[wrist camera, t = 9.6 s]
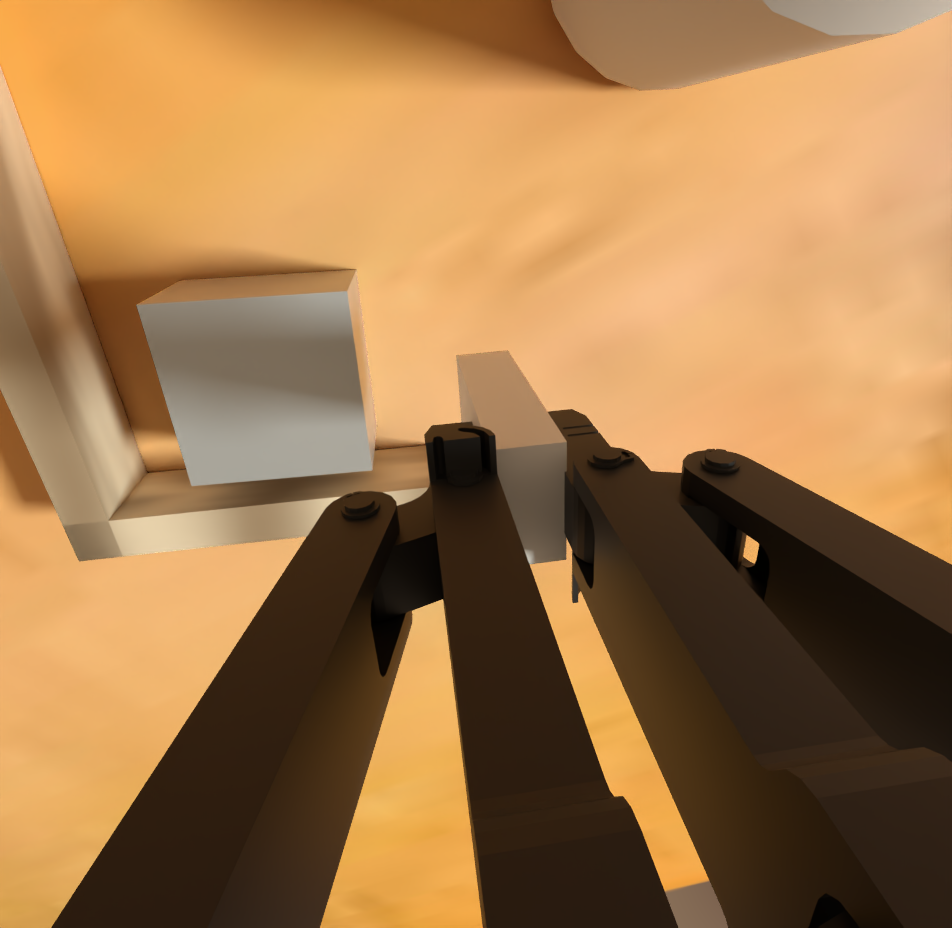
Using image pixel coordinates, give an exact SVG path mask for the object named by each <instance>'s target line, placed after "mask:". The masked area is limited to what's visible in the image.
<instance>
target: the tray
mask: <svg viewBox="0 0 952 928" xmlns="http://www.w3.org/2000/svg"><path fill="white" fill-rule="evenodd" d="M0 390H1V392H2V394H3V396H4V398H5V400H6V403H7V405H8V407H9V409H10V411H11V414H12V416H13V418H14V420H15V422H16V425H17V427H18V429H19V431H20V433H21V435H22V438H23V440H24V442H25V444H26V446H27V449H28V451H29V453H30V455H31V457H32V459H33V462H34V464H35V466H36V468H37V470H38V473H39V475H40V477H41V479H42V481H43V484H44V486H45V488H46V490H47V492H48V494H49V497H50V499H51V501H52V503H53V505H54V508H55V510H56V512H57V514H58V516H59V518H60V521H61V523H62V525H63V527H64V529H65V532H66V534H67V536H68V538H69V540H70V543H71V545H72V547H73V549H74V551H75V553H76V556H77V558H78V560H79V561H86V560H95V559H105V558H114V557H123V556H132V555H141V554H151V553H160V552H169V551H178V550H187V549H197V548H206V547H215V546H224V545H233V544H243V543H252V542H261V541H270V540H279V539H289V538H298V537H307V536H308V534H309V533H310V531H311V530H312V528H313V527H314V525H315V524H316V522H317V521H318V519H319V517H320V516H321V514H322V513H323V511H324V510H325V508H326V507H327V506H329V505H330V504H331V503H332V502H333V501H335V500H337V499H339V498H340V497H342V496H344V495H346V494H349V493H353V492H357V491H362V492H364V491H375V492H383V493H385V494H388V495H390V496H392V497H393V498H394V500H395V501H396V503H397V506H398V505H401V504H404V503H407V502H410V501H412V500H414V499H416V498H418V497H420V496H421V495H422V494H423V493H425V492H426V491H427V489H428V487H429V484H430V481H429V472H428V463H427V454H426V445H423V446H413V447H403V448H393V449H383V450H374V460H373V470H372V471H360V472H349V473H337V474H326V475H314V476H303V477H291V478H280V479H268V480H257V481H246V482H234V483H223V484H211V485H200V486H191V483H190V479H189V476H188V473H187V470H186V469H183V470H173V471H163V472H153V473H147V471H146V468H145V465H144V462H143V460H142V457H141V454H140V451H139V449H138V446H137V443H136V440H135V437H134V435H133V432H132V429H131V426H130V424H129V421H128V418H127V415H126V413H125V410H124V407H123V404H122V401H121V399H120V396H119V393H118V390H117V388H116V385H115V382H114V379H113V377H112V374H111V371H110V368H109V365H108V363H107V360H106V357H105V354H104V352H103V349H102V346H101V343H100V341H99V338H98V335H97V332H96V329H95V327H94V324H93V321H92V318H91V316H90V313H89V310H88V307H87V305H86V302H85V299H84V296H83V293H82V291H81V288H80V285H79V282H78V280H77V277H76V274H75V271H74V269H73V266H72V263H71V260H70V257H69V255H68V252H67V249H66V246H65V244H64V241H63V238H62V235H61V233H60V230H59V227H58V224H57V221H56V219H55V216H54V213H53V210H52V208H51V205H50V202H49V199H48V197H47V194H46V191H45V188H44V185H43V183H42V180H41V177H40V174H39V172H38V169H37V166H36V163H35V161H34V158H33V155H32V152H31V149H30V147H29V144H28V141H27V138H26V136H25V133H24V130H23V127H22V125H21V122H20V119H19V116H18V113H17V111H16V108H15V105H14V102H13V100H12V97H11V94H10V91H9V89H8V86H7V83H6V80H5V77H4V75H3V72H2V69H1V66H0Z"/></svg>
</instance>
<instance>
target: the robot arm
mask: <svg viewBox="0 0 952 928" xmlns="http://www.w3.org/2000/svg"><path fill="white" fill-rule="evenodd" d="M456 357H457V370H458V382H459V395H460V407H461V420H462V423H452V424H443V425H433V426H431V427H430V429H429V430H428V431H427V432H426V433H425V435H424V436H425V445H426V454H427V463H428V472H429V481H430V484H429V487H428V489H427V491H426V492H425V493H423V494H422V495H421V496H420V497H418V498H416V499H414V500H412V501H410V502H407V503H404V504H401V505H398V506H397V503H396V501H395V500H394V498H393V497H392V496H390V495H388V494H385V493H383V492H375V491H364V492H362V491H357V492H353V493H349V494H346V495H344V496H342V497H340V498H339V499H337V500H335V501H333V502H332V503H331V504H330V505H329V506H327V507H326V508H325V510H324V511H323V513H322V514H321V516H320V517H319V519H318V521H317V522H316V524H315V525H314V527H313V528H312V530H311V531H310V533H309V534H308V536H307V537H306V539H305V540H304V542H303V543H302V545H301V547H300V548H299V550H298V551H297V553H296V554H295V556H294V557H293V559H292V560H291V562H290V563H289V565H288V566H287V568H286V569H285V571H284V573H283V574H282V576H281V577H280V579H279V580H278V582H277V583H276V585H275V586H274V588H273V589H272V591H271V592H270V594H269V595H268V597H267V599H266V600H265V602H264V603H263V605H262V606H261V608H260V609H259V611H258V612H257V614H256V615H255V617H254V618H253V620H252V621H251V623H250V625H249V626H248V628H247V629H246V631H245V632H244V634H243V635H242V637H241V638H240V640H239V641H238V643H237V644H236V646H235V647H234V649H233V651H232V652H231V654H230V655H229V657H228V658H227V660H226V661H225V663H224V664H223V666H222V667H221V669H220V670H219V672H218V673H217V675H216V677H215V678H214V680H213V681H212V683H211V684H210V686H209V687H208V689H207V690H206V692H205V693H204V695H203V696H202V698H201V699H200V701H199V703H198V704H197V706H196V707H195V709H194V710H193V712H192V713H191V715H190V716H189V718H188V719H187V721H186V722H185V724H184V725H183V727H182V729H181V730H180V732H179V733H178V735H177V736H176V738H175V739H174V741H173V742H172V744H171V745H170V747H169V748H168V750H167V751H166V753H165V755H164V756H163V758H162V759H161V761H160V762H159V764H158V765H157V767H156V768H155V770H154V771H153V773H152V774H151V776H150V777H149V779H148V781H147V782H146V784H145V785H144V787H143V788H142V790H141V791H140V793H139V794H138V796H137V797H136V799H135V800H134V802H133V803H132V805H131V807H130V808H129V810H128V811H127V813H126V814H125V816H124V817H123V819H122V820H121V822H120V823H119V825H118V826H117V828H116V829H115V831H114V833H113V834H112V836H111V837H110V839H109V840H108V842H107V843H106V845H105V846H104V848H103V849H102V851H101V852H100V854H99V855H98V857H97V859H96V860H95V862H94V863H93V865H92V866H91V868H90V869H89V871H88V872H87V874H86V875H85V877H84V878H83V880H82V881H81V883H80V885H79V886H78V888H77V889H76V891H75V892H74V894H73V895H72V897H71V898H70V900H69V901H68V903H67V904H66V906H65V907H64V909H63V911H62V912H61V914H60V915H59V917H58V918H57V920H56V921H55V923H54V924H53V926H52V927H51V928H320V925H321V922H322V918H323V915H324V912H325V909H326V905H327V902H328V899H329V895H330V892H331V889H332V885H333V882H334V879H335V876H336V872H337V869H338V866H339V862H340V859H341V856H342V852H343V849H344V846H345V843H346V839H347V836H348V833H349V829H350V826H351V823H352V819H353V816H354V813H355V810H356V806H357V803H358V800H359V796H360V793H361V790H362V786H363V783H364V780H365V777H366V773H367V770H368V767H369V763H370V760H371V757H372V753H373V750H374V747H375V744H376V740H377V737H378V734H379V730H380V727H381V724H382V720H383V717H384V714H385V711H386V707H387V704H388V701H389V697H390V694H391V691H392V687H393V684H394V681H395V678H396V674H397V671H398V668H399V664H400V661H401V658H402V654H403V651H404V648H405V645H406V641H407V638H408V635H409V631H410V628H411V625H412V610H415V609H417V608H420V607H423V606H425V605H428V604H431V603H433V602H436V601H439V600H441V599H443V601H444V610H445V618H446V626H447V635H448V643H449V651H450V659H451V668H452V676H453V684H454V692H455V701H456V709H457V717H458V725H459V734H460V742H461V750H462V759H463V767H464V775H465V783H466V792H467V800H468V808H469V816H470V825H471V833H472V841H473V850H474V858H475V866H476V874H477V883H478V891H479V899H480V907H481V916H482V924H483V928H678V925H677V923H676V920H675V918H674V915H673V912H672V910H671V907H670V904H669V902H668V900H667V897H666V894H665V891H664V889H663V886H662V883H661V881H660V878H659V875H658V873H657V870H656V868H655V865H654V862H653V860H652V857H651V854H650V852H649V849H648V847H647V844H646V841H645V839H644V836H643V833H642V831H641V828H640V826H639V824H638V822H637V819H636V817H635V815H634V813H633V810H632V808H631V806H630V805H629V804H628V802H627V801H626V800H625V798H624V797H623V796H618V797H614V796H613V794H612V793H611V792H610V790H609V787H608V785H607V783H606V780H605V778H604V775H603V772H602V769H601V766H600V763H599V761H598V758H597V755H596V752H595V749H594V746H593V744H592V741H591V738H590V735H589V732H588V729H587V726H586V724H585V721H584V718H583V715H582V712H581V709H580V707H579V704H578V701H577V698H576V695H575V692H574V690H573V687H572V684H571V681H570V678H569V675H568V673H567V670H566V667H565V664H564V661H563V658H562V656H561V653H560V650H559V647H558V644H557V641H556V639H555V636H554V633H553V630H552V627H551V624H550V622H549V619H548V616H547V613H546V610H545V607H544V604H543V602H542V599H541V596H540V593H539V590H538V587H537V585H536V582H535V579H534V576H533V573H532V570H531V568H530V565H529V564H535V563H543V562H551V561H559V560H566V537H567V539H568V542H569V544H570V546H571V548H572V602H573V603H577V602H578V594H579V592H580V591H581V592H582V594H583V597H584V599H585V601H586V603H587V606H588V608H589V610H590V612H591V615H592V617H593V619H594V621H595V624H596V626H597V628H598V630H599V633H600V635H601V637H602V639H603V642H604V644H605V646H606V648H607V651H608V653H609V655H610V657H611V660H612V662H613V664H614V667H615V669H616V671H617V673H618V676H619V678H620V680H621V682H622V685H623V687H624V689H625V691H626V694H627V696H628V698H629V700H630V703H631V705H632V707H633V709H634V712H635V714H636V716H637V718H638V721H639V723H640V725H641V727H642V730H643V732H644V734H645V736H646V739H647V741H648V743H649V745H650V748H651V750H652V752H653V754H654V757H655V759H656V761H657V763H658V766H659V768H660V770H661V772H662V775H663V777H664V779H665V781H666V784H667V786H668V788H669V790H670V793H671V795H672V797H673V799H674V802H675V804H676V806H677V808H678V811H679V813H680V815H681V817H682V820H683V822H684V824H685V826H686V829H687V831H688V833H689V835H690V838H691V840H692V842H693V844H694V847H695V849H696V851H697V853H698V856H699V858H700V860H701V862H702V865H703V867H704V869H705V871H706V874H707V876H708V878H709V880H710V883H711V885H712V887H713V889H714V891H715V894H716V896H717V898H718V901H719V903H720V905H721V907H722V910H723V913H724V915H725V918H726V921H727V925H728V928H952V565H951V564H949V563H947V562H945V561H944V560H942V559H940V558H938V557H936V556H934V555H932V554H930V553H928V552H926V551H924V550H923V549H921V548H919V547H917V546H915V545H913V544H911V543H909V542H907V541H905V540H904V539H902V538H900V537H898V536H896V535H894V534H892V533H890V532H888V531H886V530H884V529H883V528H881V527H879V526H877V525H875V524H873V523H871V522H869V521H867V520H865V519H863V518H862V517H860V516H858V515H856V514H854V513H852V512H850V511H848V510H846V509H844V508H842V507H841V506H839V505H837V504H835V503H833V502H831V501H829V500H827V499H825V498H823V497H822V496H820V495H818V494H816V493H814V492H812V491H810V490H808V489H806V488H804V487H802V486H801V485H799V484H797V483H795V482H793V481H791V480H789V479H787V478H785V477H783V476H781V475H780V474H778V473H776V472H774V471H772V470H770V469H768V468H766V467H764V466H762V465H761V464H759V463H757V462H755V461H753V460H751V459H749V458H747V457H745V456H742V455H739V454H737V453H733V452H727V451H726V450H722V449H716V450H715V449H707V450H705V451H697V452H694V453H692V454H689V455H687V456H686V458H685V459H684V460H683V467H682V473H671V472H655V471H650V469H649V468H648V467H647V466H646V465H645V464H644V462H643V461H642V460H641V459H640V458H639V457H638V456H637V455H635V454H634V453H633V452H630V451H628V450H624V449H621V448H614V447H610V446H609V444H608V443H607V442H606V441H605V439H604V438H603V437H602V435H601V434H600V433H598V430H597V429H596V428H595V427H594V426H593V424H592V423H591V422H590V420H589V419H588V418H587V417H586V416H585V415H583V414H581V413H579V412H577V411H575V410H572V409H569V410H560V411H550V412H547V410H546V409H545V407H544V406H543V404H542V403H541V401H540V399H539V398H538V396H537V395H536V393H535V392H534V390H533V389H532V387H531V386H530V384H529V382H528V381H527V379H526V378H525V376H524V375H523V373H522V372H521V370H520V369H519V367H518V365H517V364H516V362H515V361H514V359H513V358H512V356H511V355H510V353H509V351H508V350H507V351H497V352H487V353H476V354H466V355H456ZM746 535H748V536H749V537H751V538H752V539H754V540H755V541H757V542H758V543H759V550H758V555H757V560H756V562H755V564H754V563H751V562H750V561H748V560H747V559H745V558H744V557H743V553H744V547H745V541H746Z"/></svg>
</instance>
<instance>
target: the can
mask: <svg viewBox="0 0 952 928" xmlns="http://www.w3.org/2000/svg"><path fill="white" fill-rule="evenodd" d="M551 3H552V7H553V11H554V15H555V16H556V18H557V20H558V21H559V23H560V25H561V27H562V28H563V30H564V32H565V34H566V35H567V37H568V39H569V41H570V42H571V44H572V46H573V47H574V49H575V51H576V52H577V53H578V54H579V55H580V56H581V57H582V58H583V59H585V60H586V61H587V62H588V63H589V64H590V65H591V66H593V67H594V68H595V69H596V70H597V71H598V72H599V73H601V74H602V75H603V76H604V77H605V78H607V79H610V80H612V81H615V82H618V83H621V84H624V85H626V86H629V87H632V88H635V89H637V90H663V89H678V88H682V87H686V86H690V85H694V84H698V83H702V82H706V81H710V80H714V79H718V78H722V77H726V76H730V75H734V74H738V73H742V72H746V71H750V70H753V69H757V68H761V67H765V66H769V65H773V64H777V63H781V62H785V61H789V60H793V59H797V58H801V57H805V56H809V55H813V54H817V53H821V52H825V51H829V50H833V49H837V48H840V47H844V46H848V45H852V44H856V43H860V42H864V41H868V40H872V39H876V38H880V37H884V36H888V35H892V34H896V33H898V32H901V31H903V30H906V29H908V28H910V27H913V26H915V25H917V24H920V23H922V22H925V21H927V20H929V19H932V18H934V17H937V16H939V15H941V14H944V13H946V12H949V11H951V10H952V0H551Z"/></svg>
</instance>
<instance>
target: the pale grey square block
mask: <svg viewBox="0 0 952 928" xmlns="http://www.w3.org/2000/svg"><path fill="white" fill-rule="evenodd" d="M136 306H137V309H138V312H139V316H140V319H141V322H142V325H143V329H144V332H145V335H146V339H147V342H148V345H149V348H150V352H151V355H152V358H153V361H154V365H155V368H156V371H157V375H158V378H159V381H160V384H161V388H162V391H163V394H164V398H165V401H166V404H167V407H168V411H169V414H170V417H171V420H172V424H173V427H174V430H175V434H176V437H177V440H178V443H179V447H180V450H181V453H182V457H183V460H184V463H185V466H186V470H187V473H188V476H189V479H190V483H191V486H200V485H211V484H223V483H234V482H246V481H257V480H268V479H280V478H291V477H303V476H314V475H326V474H337V473H349V472H360V471H372V470H373V460H374V450H375V441H376V431H377V422H376V414H375V407H374V399H373V391H372V384H371V376H370V368H369V361H368V353H367V346H366V338H365V330H364V323H363V315H362V307H361V300H360V292H359V285H358V277H357V269H354V270H338V271H322V272H306V273H290V274H274V275H258V276H242V277H226V278H210V279H193V280H180V281H178V282H177V283H175V284H173V285H171V286H169V287H168V288H166V289H164V290H162V291H160V292H158V293H157V294H155V295H153V296H151V297H149V298H148V299H146V300H144V301H142V302H140V303H139V304H137V305H136Z"/></svg>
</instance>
